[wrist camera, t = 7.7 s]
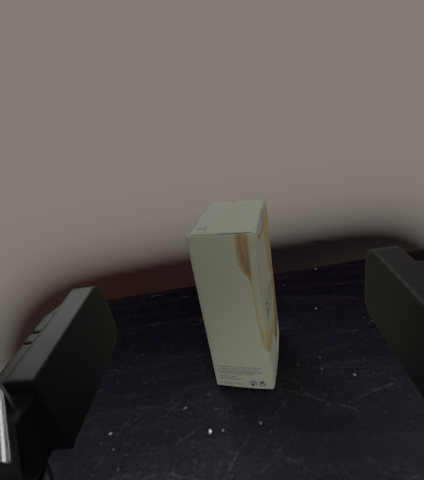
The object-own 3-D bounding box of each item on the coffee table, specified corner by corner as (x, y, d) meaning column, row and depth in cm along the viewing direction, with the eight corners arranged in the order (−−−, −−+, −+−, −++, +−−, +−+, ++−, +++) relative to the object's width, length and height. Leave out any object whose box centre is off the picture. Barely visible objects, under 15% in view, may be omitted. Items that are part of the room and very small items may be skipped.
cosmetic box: (275, 392, 22) (256, 234, 17) (215, 387, 23) (181, 237, 18) (280, 329, 28) (267, 195, 23) (231, 327, 29) (208, 200, 24)
